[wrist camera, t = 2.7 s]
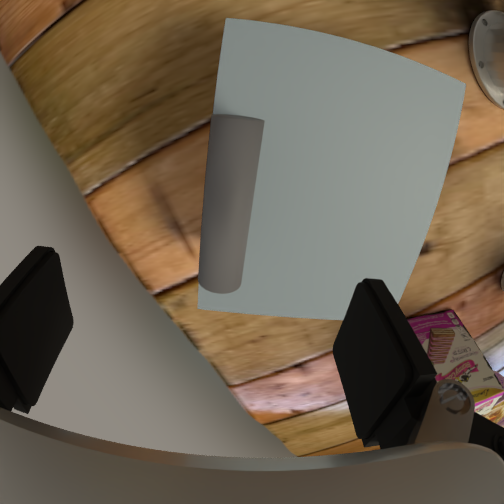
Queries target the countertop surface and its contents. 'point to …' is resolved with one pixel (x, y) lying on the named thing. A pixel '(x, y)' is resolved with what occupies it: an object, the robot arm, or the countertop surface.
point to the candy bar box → (458, 357)
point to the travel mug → (502, 282)
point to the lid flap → (318, 170)
